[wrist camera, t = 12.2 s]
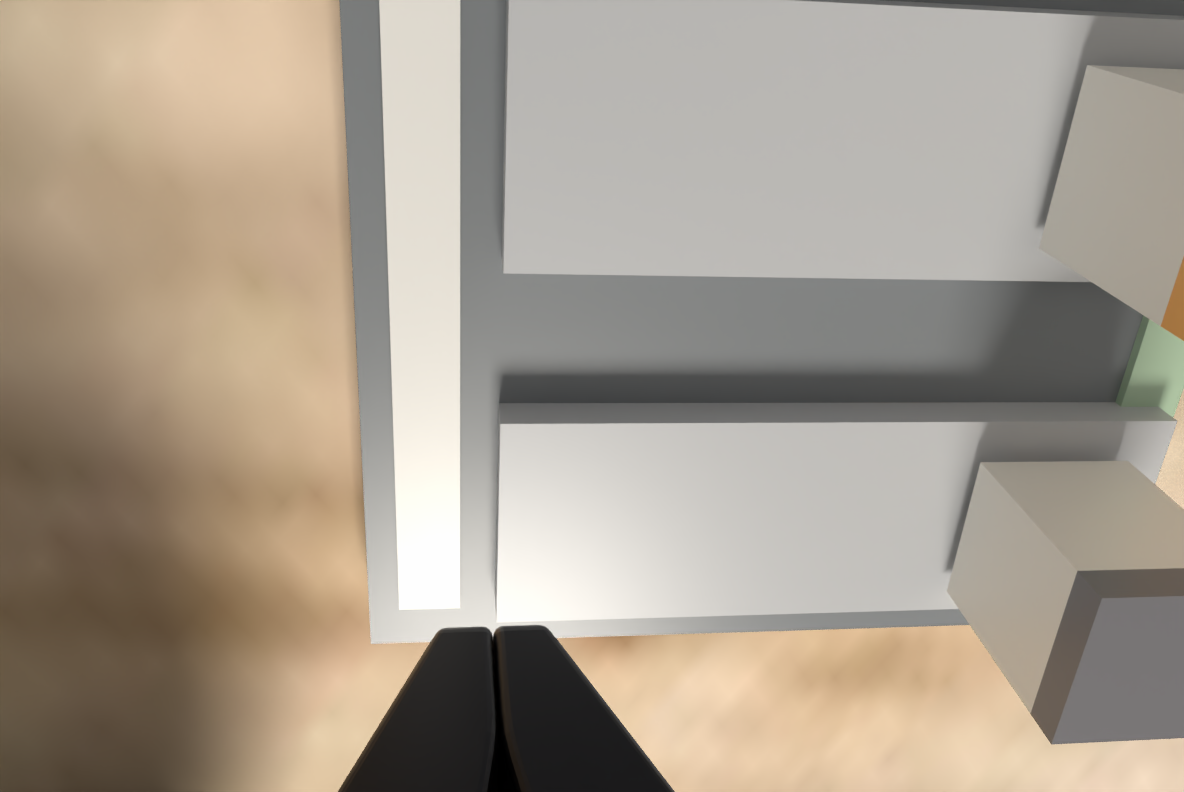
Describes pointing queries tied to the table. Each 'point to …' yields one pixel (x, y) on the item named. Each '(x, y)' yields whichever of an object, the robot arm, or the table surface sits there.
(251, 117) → the table surface
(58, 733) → the table surface
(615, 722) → the robot arm
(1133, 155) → the toggle mid
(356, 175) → the panel
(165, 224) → the table surface
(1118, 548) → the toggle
